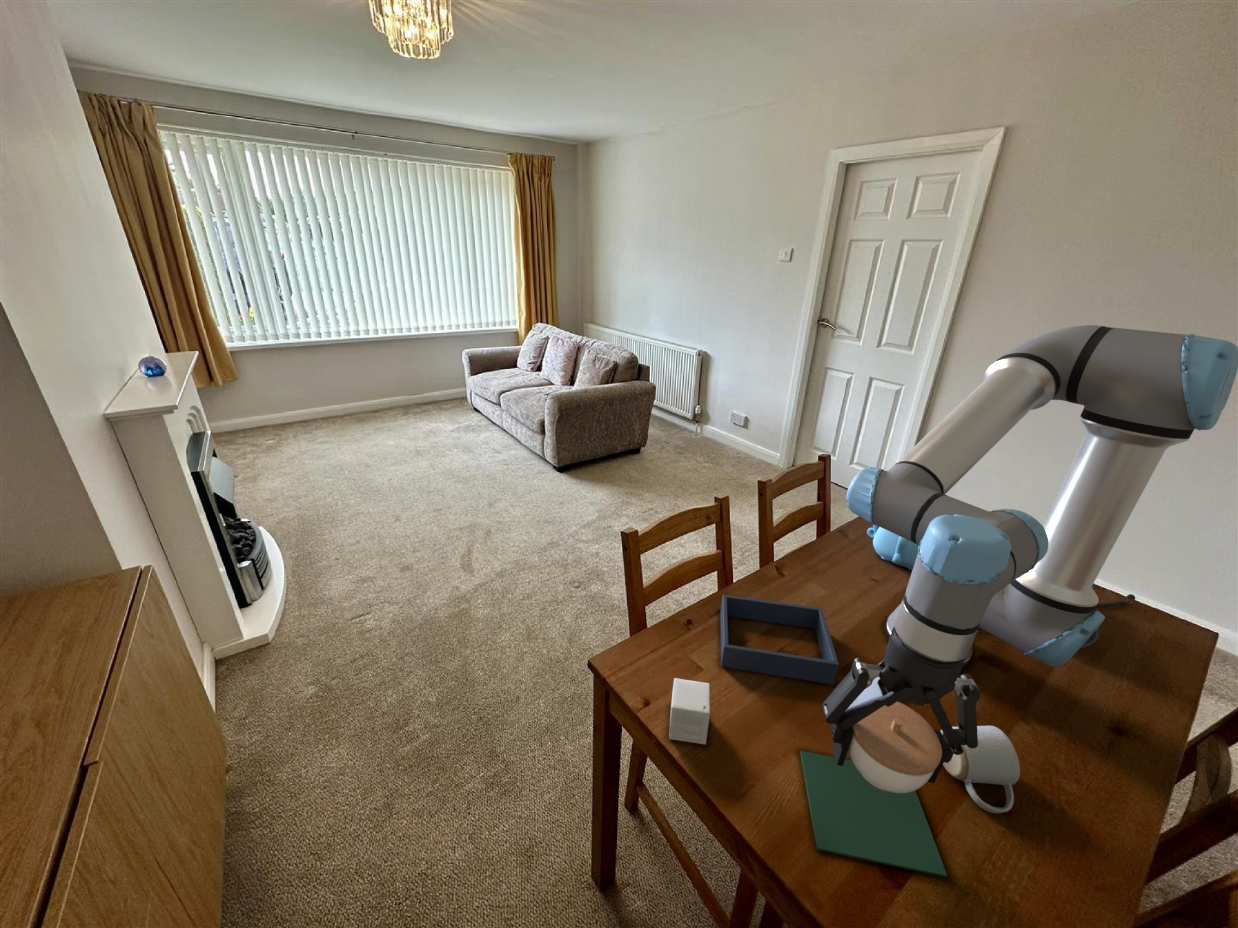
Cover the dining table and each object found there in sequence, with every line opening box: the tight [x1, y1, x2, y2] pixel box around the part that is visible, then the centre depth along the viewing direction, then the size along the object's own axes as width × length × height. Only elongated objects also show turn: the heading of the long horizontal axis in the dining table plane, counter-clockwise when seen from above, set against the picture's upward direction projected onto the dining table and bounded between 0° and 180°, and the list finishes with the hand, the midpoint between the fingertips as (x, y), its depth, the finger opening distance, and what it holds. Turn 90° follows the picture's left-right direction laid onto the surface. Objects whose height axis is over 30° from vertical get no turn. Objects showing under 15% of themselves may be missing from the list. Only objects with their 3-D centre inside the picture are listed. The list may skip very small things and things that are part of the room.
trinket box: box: [847, 702, 942, 793], centre depth 64 cm, size 11×11×9 cm
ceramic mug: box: [940, 725, 1021, 814], centre depth 72 cm, size 11×8×8 cm
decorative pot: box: [866, 524, 919, 571], centre depth 126 cm, size 16×16×14 cm
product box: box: [668, 677, 711, 745], centre depth 79 cm, size 6×6×7 cm
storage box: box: [719, 594, 840, 685], centre depth 97 cm, size 21×16×5 cm
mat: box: [799, 750, 948, 878], centre depth 69 cm, size 16×14×1 cm
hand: (881, 764), depth 65 cm, fingers closed on trinket box, 11 cm apart
